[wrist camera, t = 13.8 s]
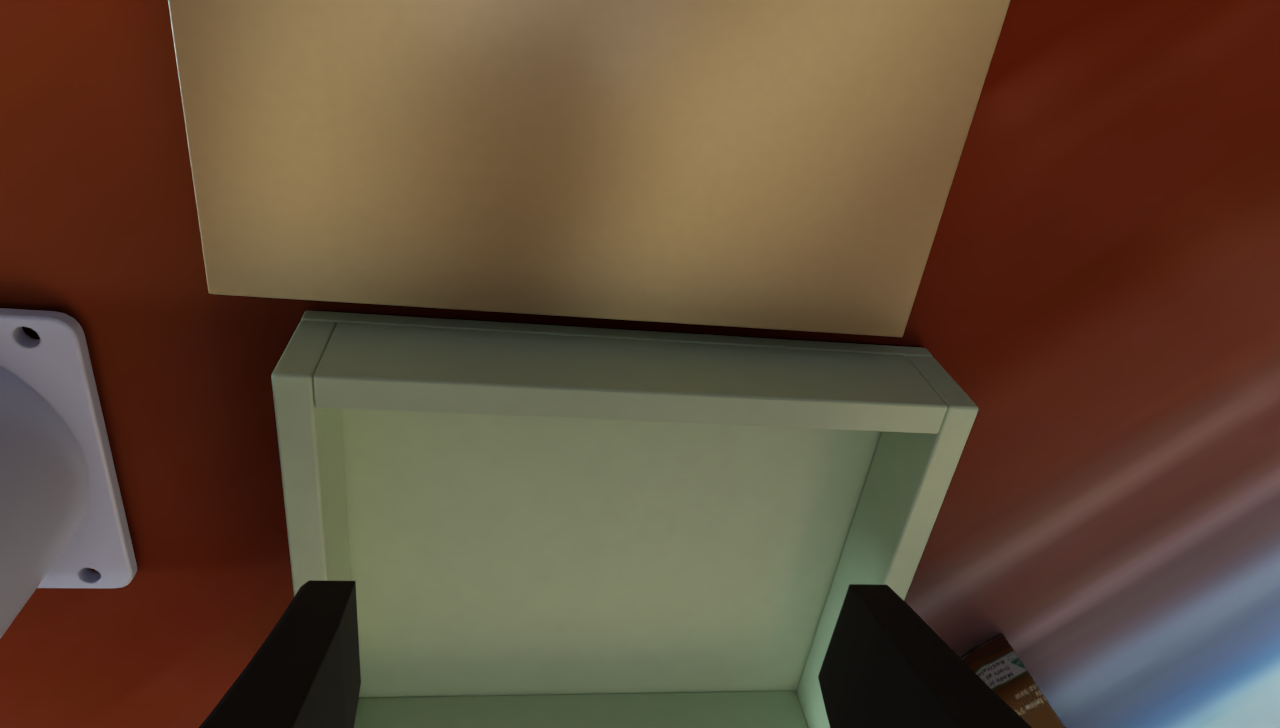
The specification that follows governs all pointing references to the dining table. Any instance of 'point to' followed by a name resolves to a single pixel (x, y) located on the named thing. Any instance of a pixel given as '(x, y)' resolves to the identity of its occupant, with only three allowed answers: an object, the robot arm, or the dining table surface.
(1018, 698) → the food container
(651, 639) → the tray
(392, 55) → the board
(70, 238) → the dining table surface
